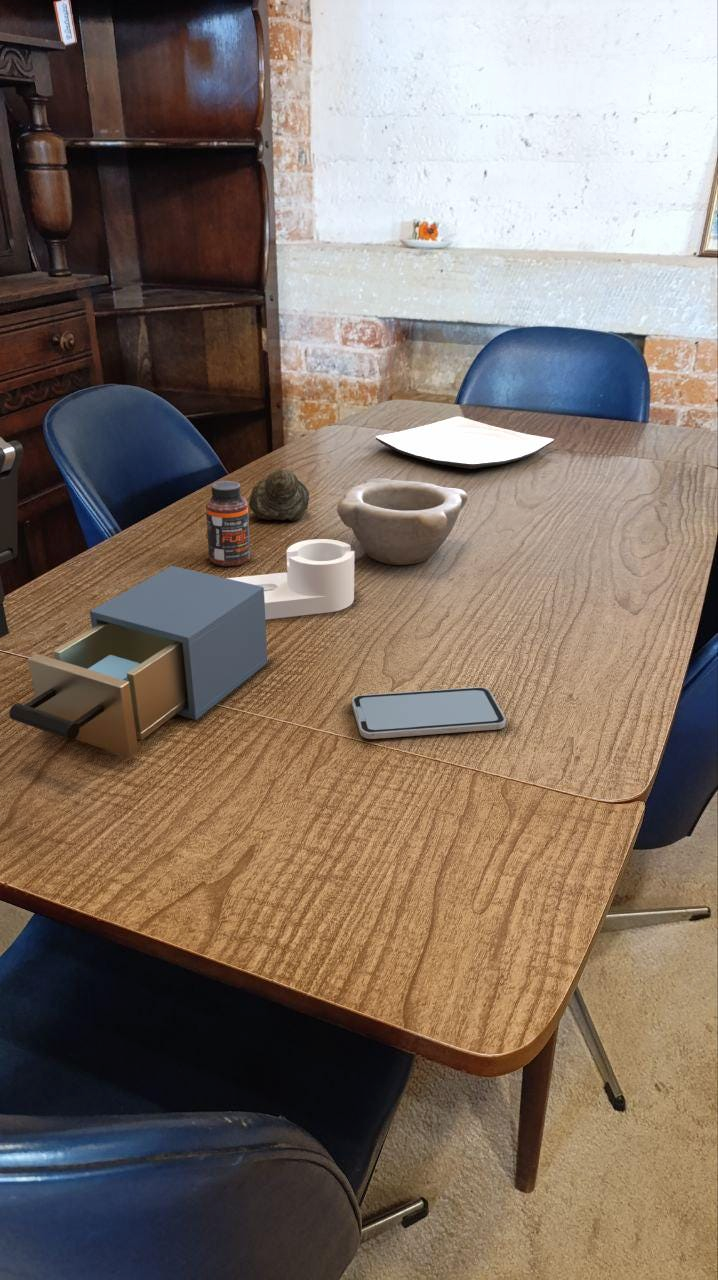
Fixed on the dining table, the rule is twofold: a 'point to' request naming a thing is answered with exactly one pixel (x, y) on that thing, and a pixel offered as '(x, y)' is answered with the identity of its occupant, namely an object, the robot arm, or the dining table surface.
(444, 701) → the smartphone
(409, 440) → the plate
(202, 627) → the compartment
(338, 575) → the bracket
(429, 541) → the mortar
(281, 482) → the seashell
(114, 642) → the drawer
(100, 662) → the cube
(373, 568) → the dining table surface
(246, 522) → the supplement bottle
